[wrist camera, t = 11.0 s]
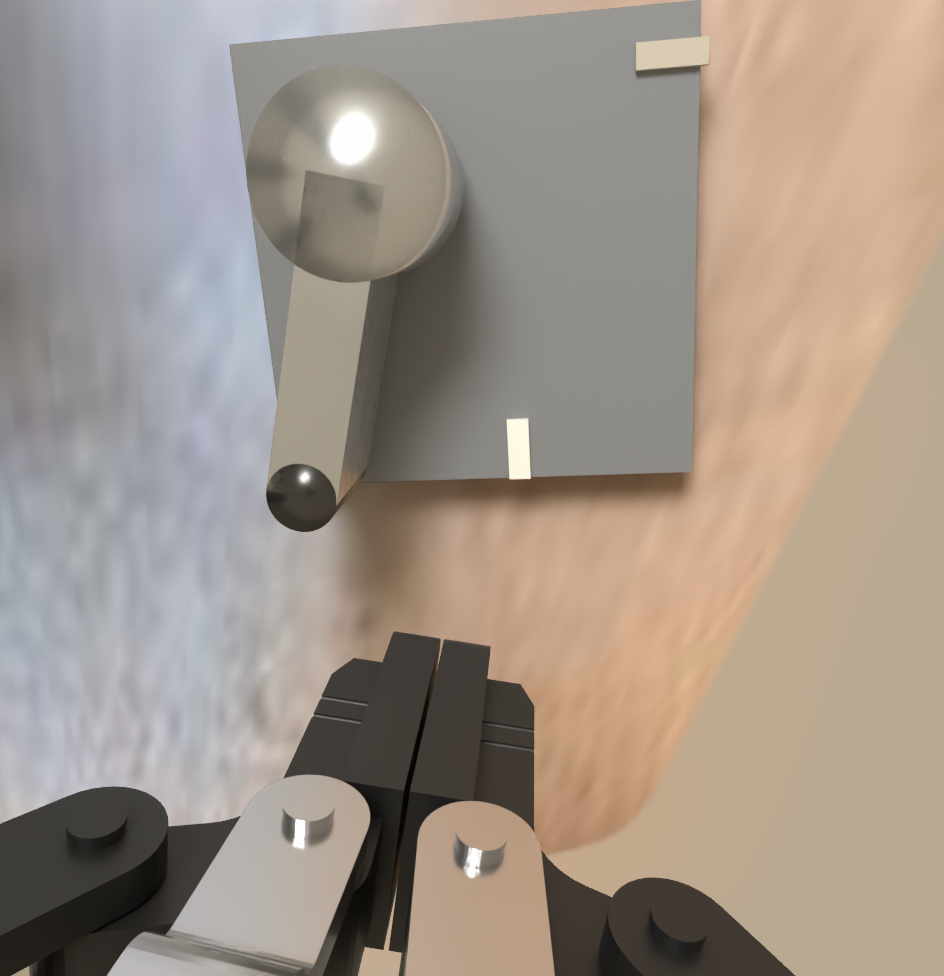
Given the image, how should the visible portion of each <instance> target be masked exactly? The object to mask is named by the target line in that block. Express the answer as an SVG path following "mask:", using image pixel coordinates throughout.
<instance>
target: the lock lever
mask: <svg viewBox="0 0 944 976" xmlns="http://www.w3.org/2000/svg"><path fill="white" fill-rule="evenodd" d="M246 174H247V186H248V191H249V196H250V201H251V204H252V207H253V210H254V213H255V215H256V217H257V219H258V222H259V224H260V226H261V228H262V229H263V231H264V232H265V234H266V236H267V237H268V239H269V240H270V241H271V242H272V244H273V245H274V246H275V248H276V249H277V250H278V251H279V252H280V253H281V254H282V255H283V256H284V257H285V258H287V259H288V260H289V261H291V262H292V263H293V264H294V270H293V279H292V287H291V295H290V303H289V311H288V319H287V328H286V336H285V344H284V352H283V360H282V369H281V377H280V385H279V393H278V401H277V409H276V418H275V426H274V434H273V442H272V450H271V458H270V467H269V475H268V483H267V492H266V497H267V503H268V506H269V509H270V511H271V513H272V514H273V516H274V517H275V518H276V519H277V520H278V521H279V522H280V523H281V524H282V525H284V526H286V527H287V528H289V529H292V530H295V531H300V532H310V531H314V530H317V529H319V528H321V527H323V526H324V525H326V524H327V523H328V522H329V521H330V519H331V518H332V517H333V516H334V514H335V513H336V512H337V510H338V509H339V508H340V507H341V505H342V504H343V503H344V502H345V500H346V499H347V498H348V496H349V495H350V494H351V493H352V491H353V490H354V489H355V488H356V486H357V485H358V484H359V482H360V481H361V480H362V479H363V477H364V476H365V474H366V471H367V467H368V462H369V456H370V449H371V443H372V437H373V431H374V425H375V419H376V413H377V407H378V400H379V394H380V388H381V382H382V376H383V370H384V364H385V358H386V351H387V345H388V339H389V333H390V327H391V321H392V315H393V308H394V302H395V296H396V290H397V284H398V278H399V273H403V272H406V271H409V270H412V269H414V268H416V267H418V266H420V265H422V264H423V263H425V262H426V261H428V260H429V259H430V258H432V257H433V256H434V255H435V254H436V253H437V252H438V251H439V250H440V249H441V248H442V247H443V246H444V244H445V243H446V241H447V240H448V239H449V237H450V236H451V234H452V232H453V230H454V228H455V226H456V223H457V221H458V218H459V215H460V211H461V207H462V202H463V193H464V181H463V173H462V167H461V163H460V159H459V156H458V153H457V151H456V148H455V146H454V144H453V142H452V140H451V138H450V136H449V135H448V133H447V132H446V130H445V129H444V128H443V126H442V125H441V124H440V123H439V122H438V121H437V120H436V118H435V117H434V116H433V115H432V114H431V113H430V112H429V111H428V110H427V109H426V108H425V107H424V106H423V105H422V104H421V103H420V102H419V101H418V100H417V99H416V98H415V97H414V96H413V95H412V94H411V93H410V92H408V91H407V90H406V89H405V88H404V87H402V86H401V85H400V84H399V83H397V82H395V81H394V80H392V79H391V78H389V77H387V76H385V75H383V74H381V73H379V72H376V71H374V70H371V69H367V68H363V67H359V66H351V65H332V66H326V67H320V68H317V69H314V70H311V71H308V72H306V73H304V74H302V75H300V76H298V77H296V78H294V79H293V80H291V81H290V82H289V83H287V84H286V85H284V86H283V87H282V88H281V89H280V90H279V91H278V92H277V93H276V94H275V95H274V96H273V97H272V98H271V100H270V101H269V102H268V103H267V105H266V106H265V108H264V109H263V111H262V113H261V114H260V116H259V118H258V120H257V122H256V125H255V127H254V129H253V132H252V135H251V139H250V142H249V147H248V154H247V167H246Z"/></svg>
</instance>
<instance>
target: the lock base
mask: <svg viewBox="0 0 944 976" xmlns="http://www.w3.org/2000/svg"><path fill="white" fill-rule="evenodd" d="M229 47H230V55H231V62H232V70H233V77H234V84H235V92H236V99H237V107H238V114H239V121H240V129H241V136H242V144H243V151H244V159H245V166H246V167H247V154H248V147H249V142H250V139H251V135H252V132H253V129H254V127H255V125H256V122H257V120H258V118H259V116H260V114H261V113H262V111H263V109H264V108H265V106H266V105H267V103H268V102H269V101H270V100H271V98H272V97H273V96H274V95H275V94H276V93H277V92H278V91H279V90H280V89H281V88H282V87H283V86H284V85H286V84H287V83H289V82H290V81H291V80H293V79H294V78H296V77H298V76H300V75H302V74H304V73H306V72H308V71H311V70H314V69H317V68H320V67H326V66H332V65H351V66H359V67H363V68H367V69H371V70H374V71H376V72H379V73H381V74H383V75H385V76H387V77H389V78H391V79H392V80H394V81H395V82H397V83H399V84H400V85H401V86H402V87H404V88H405V89H406V90H407V91H408V92H410V93H411V94H412V95H413V96H414V97H415V98H416V99H417V100H418V101H419V102H420V103H421V104H422V105H423V106H424V107H425V108H426V109H427V110H428V111H429V112H430V113H431V114H432V115H433V116H434V117H435V118H436V120H437V121H438V122H439V123H440V124H441V125H442V126H443V128H444V129H445V130H446V132H447V133H448V135H449V136H450V138H451V140H452V142H453V144H454V146H455V148H456V151H457V153H458V156H459V159H460V163H461V167H462V173H463V181H464V193H463V202H462V207H461V211H460V215H459V218H458V221H457V223H456V226H455V228H454V230H453V232H452V234H451V236H450V237H449V239H448V240H447V241H446V243H445V244H444V246H443V247H442V248H441V249H440V250H439V251H438V252H437V253H436V254H435V255H434V256H433V257H432V258H430V259H429V260H428V261H426V262H425V263H423V264H422V265H420V266H418V267H416V268H414V269H412V270H409V271H406V272H403V273H399V278H398V284H397V290H396V296H395V302H394V308H393V315H392V321H391V327H390V333H389V339H388V345H387V351H386V358H385V364H384V370H383V376H382V382H381V388H380V394H379V400H378V407H377V413H376V419H375V425H374V431H373V437H372V443H371V449H370V456H369V462H368V467H367V471H366V474H365V476H364V477H363V479H362V480H361V481H360V482H390V481H422V480H453V479H485V478H510V479H531V477H549V476H580V475H612V474H644V473H675V472H692V443H693V393H694V343H695V293H696V243H697V194H698V144H699V94H700V66H706V65H708V64H709V36H703V37H701V0H695V1H684V2H674V3H663V4H653V5H642V6H632V7H621V8H611V9H600V10H589V11H579V12H568V13H558V14H547V15H537V16H526V17H516V18H505V19H495V20H484V21H474V22H463V23H453V24H442V25H432V26H421V27H410V28H400V29H389V30H379V31H368V32H358V33H347V34H337V35H326V36H316V37H305V38H295V39H284V40H274V41H263V42H253V43H242V44H231V45H229ZM250 203H251V201H250ZM251 210H252V218H253V225H254V233H255V240H256V247H257V255H258V262H259V270H260V277H261V284H262V292H263V299H264V307H265V314H266V321H267V329H268V336H269V344H270V351H271V358H272V366H273V373H274V381H275V388H276V396H277V401H278V393H279V385H280V377H281V369H282V360H283V352H284V344H285V336H286V328H287V319H288V311H289V303H290V295H291V287H292V279H293V270H294V264H293V263H292V262H291V261H289V260H288V259H287V258H285V257H284V256H283V255H282V254H281V253H280V252H279V251H278V250H277V249H276V248H275V246H274V245H273V244H272V242H271V241H270V240H269V239H268V237H267V236H266V234H265V232H264V231H263V229H262V228H261V226H260V224H259V222H258V219H257V217H256V215H255V213H254V210H253V207H252V204H251Z"/></svg>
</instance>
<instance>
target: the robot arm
mask: <svg viewBox="0 0 944 976" xmlns="http://www.w3.org/2000/svg"><path fill="white" fill-rule="evenodd" d="M490 648H491V646H484V645H478V644H472V643H465V642H459V641H453V640H446V639H444V643H443V647H442V652H441V656H440V660H439V665H438V658H439V651H440V639H439V638H433V637H426V636H420V635H413V634H407V633H401V632H394V633H393V635H392V638H391V640H390V643H389V646H388V649H387V651H386V654H385V657H384V660H383V663H382V662H376V661H369V660H363V659H357V658H353V659H352V660H351V661H349V662H348V663H347V664H345V665H344V666H342V667H341V668H340V669H338V670H337V671H335V672H334V673H333V674H332V675H331V677H330V679H329V682H328V684H327V686H326V688H325V690H324V692H323V694H322V699H320V701H319V703H318V705H317V707H316V710H315V712H314V716H313V717H312V718H311V720H310V722H309V725H308V727H307V729H306V731H305V733H304V735H303V738H302V740H301V742H300V744H299V746H298V748H297V750H296V753H295V755H294V757H293V759H292V761H291V763H290V766H289V768H288V770H287V772H286V774H285V776H284V779H281V780H278V781H276V782H274V783H271V784H269V785H268V786H266V787H265V788H263V789H262V790H260V791H259V792H258V793H257V794H256V795H255V796H254V797H253V799H252V800H251V801H250V802H249V804H248V806H247V807H246V809H245V810H244V812H243V814H242V815H241V816H239V817H236V818H234V819H230V820H226V821H221V822H214V823H206V824H194V825H182V826H169V827H168V816H167V813H166V810H165V808H164V807H163V806H162V804H161V803H160V802H159V801H158V800H157V799H156V798H154V797H153V796H151V795H149V794H148V793H145V792H143V791H140V790H137V789H132V788H127V787H101V788H94V789H89V790H85V791H81V792H78V793H75V794H73V795H70V796H67V797H65V798H62V799H60V800H58V801H55V802H53V803H50V804H48V805H45V806H43V807H40V808H38V809H36V810H33V811H31V812H28V813H26V814H23V815H21V816H19V817H16V818H14V819H11V820H9V821H6V822H4V823H2V824H0V976H11V975H13V974H15V973H17V972H18V971H20V970H22V969H24V968H26V967H28V966H29V970H30V976H358V972H359V968H360V964H361V959H362V955H363V951H364V947H369V948H375V949H381V950H383V949H384V944H385V940H386V934H387V930H388V926H389V921H390V916H391V912H392V907H393V902H394V897H395V892H396V888H397V892H396V901H395V908H394V915H393V923H392V930H391V938H390V946H389V951H395V952H401V953H402V956H401V964H400V970H399V976H795V975H794V974H793V973H792V972H790V970H789V969H788V968H786V967H785V966H784V965H783V964H782V963H781V962H780V961H779V960H777V958H776V957H775V956H773V955H772V954H771V953H770V952H769V951H768V950H767V949H766V948H765V947H764V946H763V945H762V944H761V943H760V942H758V941H757V940H756V939H755V938H754V937H753V936H752V935H751V934H750V933H749V932H748V931H747V930H745V929H744V928H743V927H742V926H741V925H740V924H739V923H738V922H737V921H736V920H735V919H733V917H731V916H730V915H729V914H728V913H727V912H726V911H725V910H724V909H723V908H722V907H721V906H720V905H718V904H717V903H716V902H715V901H714V900H712V899H711V898H710V897H708V896H707V895H705V894H703V893H702V892H700V891H698V890H696V889H695V888H692V887H691V886H688V885H685V884H683V883H680V882H677V881H673V880H669V879H663V878H643V879H637V880H635V881H631V882H629V883H627V884H625V885H624V886H622V887H621V888H620V889H619V890H618V891H617V892H616V893H615V894H614V896H613V898H612V897H610V896H607V895H605V894H603V893H600V892H598V891H596V890H594V889H591V888H589V887H587V886H585V885H583V884H581V883H579V882H577V881H575V880H573V879H571V878H570V877H569V876H567V875H566V874H564V873H563V872H562V871H560V870H559V869H558V868H557V867H556V866H554V864H553V863H552V862H551V861H550V860H549V859H548V858H547V857H546V855H545V854H544V853H543V851H542V850H541V847H540V843H539V840H538V838H537V836H536V834H535V833H534V753H533V752H534V705H533V703H532V702H531V700H530V699H529V697H528V696H527V694H526V692H525V691H524V689H523V688H522V686H521V684H515V683H509V682H502V681H496V680H490V679H487V676H488V667H489V658H490ZM437 666H438V669H437ZM436 673H437V674H436ZM397 883H398V885H397Z"/></svg>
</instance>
